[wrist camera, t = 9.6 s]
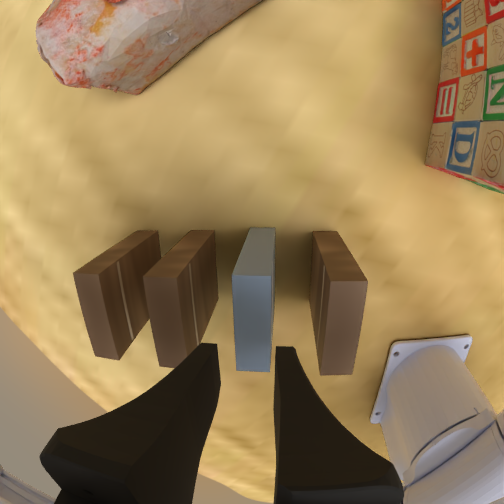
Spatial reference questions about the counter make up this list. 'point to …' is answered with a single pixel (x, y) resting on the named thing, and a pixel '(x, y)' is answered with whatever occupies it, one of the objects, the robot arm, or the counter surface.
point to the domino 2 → (182, 296)
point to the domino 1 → (117, 293)
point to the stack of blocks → (470, 94)
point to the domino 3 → (335, 303)
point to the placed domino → (254, 300)
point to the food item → (126, 38)
